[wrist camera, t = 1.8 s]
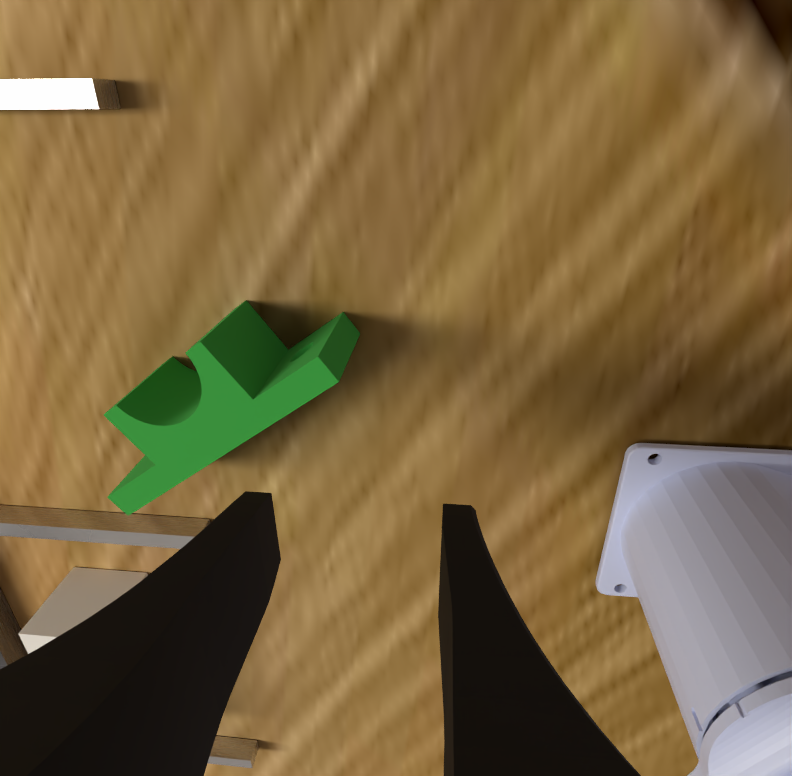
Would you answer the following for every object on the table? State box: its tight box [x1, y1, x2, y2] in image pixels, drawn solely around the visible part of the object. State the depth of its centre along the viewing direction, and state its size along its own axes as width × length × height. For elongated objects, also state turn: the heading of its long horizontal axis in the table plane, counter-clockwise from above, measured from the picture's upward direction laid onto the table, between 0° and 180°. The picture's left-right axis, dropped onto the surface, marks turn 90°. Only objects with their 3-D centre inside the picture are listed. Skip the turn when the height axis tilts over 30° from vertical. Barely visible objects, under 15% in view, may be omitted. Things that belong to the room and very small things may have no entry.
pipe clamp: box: [104, 300, 360, 516], centre depth 20 cm, size 10×4×4 cm, turn 126°
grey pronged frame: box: [0, 78, 259, 768], centre depth 25 cm, size 14×37×2 cm, turn 0°
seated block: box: [18, 567, 148, 654], centre depth 28 cm, size 4×11×4 cm, turn 0°
